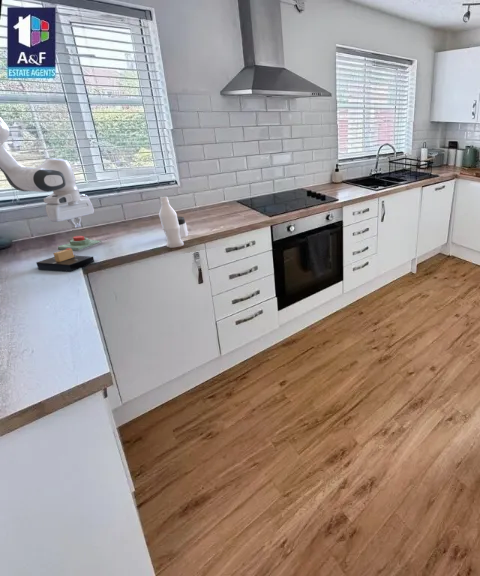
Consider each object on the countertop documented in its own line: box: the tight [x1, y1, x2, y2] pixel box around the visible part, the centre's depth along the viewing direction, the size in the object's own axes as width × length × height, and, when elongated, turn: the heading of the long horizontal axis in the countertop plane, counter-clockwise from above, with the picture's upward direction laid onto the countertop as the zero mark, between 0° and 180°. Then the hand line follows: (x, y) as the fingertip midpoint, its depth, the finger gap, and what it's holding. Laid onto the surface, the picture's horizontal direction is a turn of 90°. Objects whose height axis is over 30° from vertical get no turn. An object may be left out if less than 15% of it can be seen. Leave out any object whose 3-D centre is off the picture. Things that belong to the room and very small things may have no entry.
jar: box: [177, 216, 189, 239], centre depth 185 cm, size 9×8×12 cm
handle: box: [53, 248, 75, 262], centre depth 147 cm, size 6×2×4 cm, turn 174°
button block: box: [57, 237, 102, 251], centre depth 172 cm, size 10×13×4 cm
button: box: [72, 235, 85, 241], centre depth 171 cm, size 4×4×2 cm
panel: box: [35, 254, 95, 273], centre depth 148 cm, size 14×11×3 cm
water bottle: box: [158, 195, 185, 249], centre depth 169 cm, size 7×7×25 cm
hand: (76, 227), depth 169 cm, fingers closed
